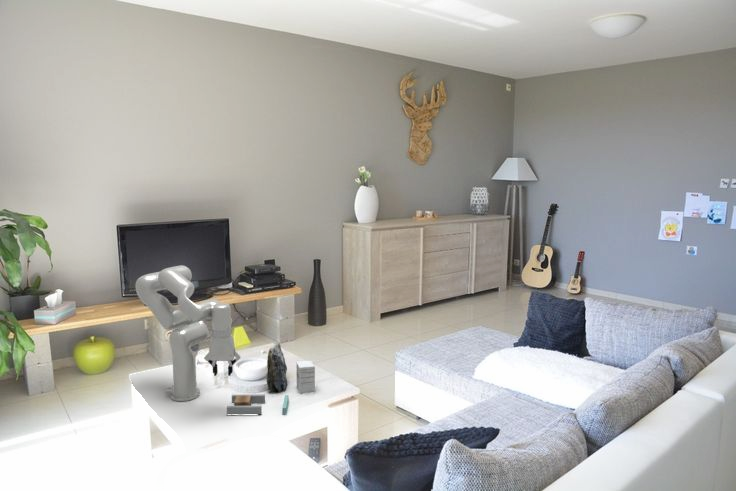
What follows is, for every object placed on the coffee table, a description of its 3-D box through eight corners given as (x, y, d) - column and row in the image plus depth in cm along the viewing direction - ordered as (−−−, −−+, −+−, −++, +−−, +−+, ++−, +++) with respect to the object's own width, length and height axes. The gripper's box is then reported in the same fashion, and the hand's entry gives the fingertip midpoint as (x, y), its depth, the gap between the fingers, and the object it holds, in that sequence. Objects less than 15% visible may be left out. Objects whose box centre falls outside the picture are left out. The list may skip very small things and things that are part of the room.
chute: (226, 415, 213) (226, 407, 213) (232, 402, 225) (232, 394, 224) (261, 415, 214) (261, 407, 214) (264, 401, 226) (264, 394, 225)
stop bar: (282, 414, 215) (282, 408, 214) (285, 401, 226) (285, 395, 226) (286, 414, 215) (285, 408, 214) (288, 401, 227) (288, 395, 226)
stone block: (285, 393, 234) (285, 351, 231) (265, 393, 234) (265, 351, 231) (289, 377, 252) (289, 338, 249) (271, 377, 252) (271, 338, 249)
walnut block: (234, 412, 216) (234, 402, 216) (236, 405, 222) (236, 395, 221) (249, 412, 217) (248, 402, 216) (251, 405, 223) (250, 395, 222)
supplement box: (296, 387, 241) (296, 361, 239) (311, 385, 243) (311, 360, 241) (299, 394, 234) (299, 367, 232) (315, 392, 237) (315, 365, 235)
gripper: (198, 336, 209) (199, 378, 212) (241, 335, 211) (241, 378, 213) (203, 330, 217) (204, 371, 220) (244, 330, 218) (245, 370, 221)
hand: (222, 374), depth 216 cm, fingers open, 5 cm apart
